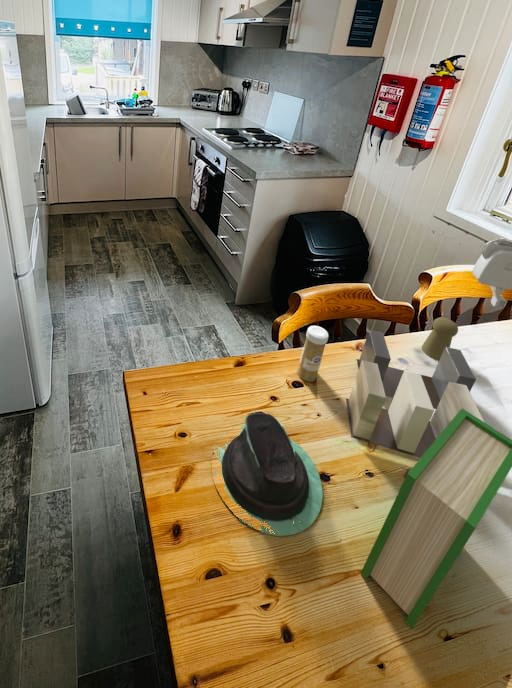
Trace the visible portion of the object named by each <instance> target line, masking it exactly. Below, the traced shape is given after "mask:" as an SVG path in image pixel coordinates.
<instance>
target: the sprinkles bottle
mask: <svg viewBox="0 0 512 688" xmlns="http://www.w3.org/2000/svg"><path fill="white" fill-rule="evenodd" d="M305 336H306V338H305V340H304V345H303V348H302V351H301V354H300V359H299V365H298V368H297V370H296V372H297V375H298V377H299V378H300V379H302V380H303V381H305V382H309V383H310V382H311V383H312V382H315V381H316V380H317V376H318V373H319V369H320V366H321V364H322V359H323V355H324V351H325V348H326V344H327V343H328V340H329V332H328V331H327V330H326V329H325V328H323V327H321V326H319V325H310V326H309V327H308V328H307V330H306V334H305Z"/></svg>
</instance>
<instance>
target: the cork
mask: <svg viewBox="0 0 512 688" xmlns="http://www.w3.org/2000/svg"><path fill="white" fill-rule="evenodd" d="M458 332H459V327H458V325H457V323H455V322H454V321H453V320H451V319H450V318H447V317H441V316H440V317H437V318H435V319H434V320H433V322H432V330H431V331H430V333H429V335H428V336H427V337H426V339H425V341H424V342H423V344H422V345H421V351H422V352H423V353H424V354H425V355H426V356H427V357H429V358H431V359H434V360H436V361H439V360H440V358H441V356H442V354H443V351H444V349H445V347H449V348H451V344H452V340H453V337H456V335H457V334H458Z"/></svg>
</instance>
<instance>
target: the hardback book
mask: <svg viewBox="0 0 512 688" xmlns="http://www.w3.org/2000/svg"><path fill="white" fill-rule="evenodd" d="M510 470H512V439H511V438H510V437H508V436H507V435H505V434H503V433H502V432H501V431H499V430H497V429H495V428H494V427H492V426H491V425H490V424H487V423H486V422H485V421H484V422H483V421H481V420H480V419H478V418H477V417H475V416H473V415H472V414H470V413H469V412H467V411H466V410H464V409H461V410H460V411H459V412H458V414H457V415H456V416H455V417H454V418H453V420H452V421H451V422H450V423H449V424H448V426H447V427H446V428H445V429H444V430H443V432H442V433H441V434H440V435H439V436H438V438H437V439H436V440H435V441H434V442H433V444H432V445H431V446H430V447H429V448H428V450H427V451H426V452H425V453H424V454H423V456H422V457H421V458H420V457H419V459H418V460H417V461H416V463H415V464H413V466H412V467H411V468H410V470H408V472H407V474H406V475H405V478H404V480H403V482H402V484H401V486H400V489H399V491H398V493H397V494H396V497H395V499H394V501H393V503H392V506H391V508H390V510H389V511H388V514H387V516H386V518H385V519H384V523H383V525H382V526H381V529H380V531H379V533H378V535H377V537H376V539H375V542H374V544H373V546H372V548H371V550H370V552H369V554H368V555H367V556H368V557H367V559H366V561H365V563H364V565H363V567H362V569H361V571H360V573H361V574H362V575H363V576H364V577H365V578H366V579H367V580H368V578H369V577H371V578H372V579H373V580H374V581H375V582H376V583H377V584H378V585H379V587H381V589H383V590H384V592H386V593H387V595H388V596H389V597H390V598H391V599H392V600H393V601H394V602H395V603H396V604H397V605H398V606H399V607H400V609H401V610H402V611H403V612H404V613H405V614H406V615H407V617H406V618H405V620H404V622H405V621H406V622H407V623H408V624H409V626H410V627H411V628H412V629H413V627H414V626H415V624H416V623H417V621H418V620H419V618H420V616H421V615H422V614H423V612H424V611H425V609H426V607H427V606H428V604H429V602H430V601H431V600H432V598H433V596H434V595H435V593H436V591H437V589H438V588H439V587H440V585H441V583H442V582H443V581H444V579H445V577H446V576H447V574H448V572H449V571H450V569H451V568H452V566H453V565H454V563H455V561H456V560H457V558H458V557H459V555H460V553H461V552H462V551H463V549H464V547H465V546H466V544H467V542H468V541H469V540H470V538H471V536H472V535H473V533H474V532H475V531H476V528H477V527H478V525H479V523H480V521H481V520H482V519H483V517H484V515H485V513H486V512H487V509H489V506H490V504H491V503H492V501H493V500H494V499H495V496H496V495H497V493H498V492H499V490H500V488H501V487H502V484H503V483H504V481H505V480H506V478H507V476H508V475H509V473H510ZM361 574H360V575H361ZM362 575H361V576H362ZM363 576H362V577H363ZM364 577H363V578H364ZM365 578H364V579H365ZM366 579H365V580H366ZM406 622H405V623H406ZM407 623H406V624H407ZM408 624H407V625H408ZM409 626H408V627H409ZM410 627H409V628H410ZM411 628H410V629H411Z"/></svg>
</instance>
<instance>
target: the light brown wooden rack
mask: <svg viewBox="0 0 512 688" xmlns="http://www.w3.org/2000/svg"><path fill="white" fill-rule="evenodd" d="M386 400H387V396H386V395H385V392H384V388H383V384H382V380H381V376H380V372H379V368H378V364H376V363H372V362H368V361H364V360H362V361H361V364H360V367H359V370H358V371H357V374H356V376H355V379H354V383H353V386H352V389H351V392H350V395H349V397H348V398H347V397H345V404H346V411H347V418H348V425H349V431H350V437H351V438H353V439H356V440H360V441H363V442H367V443H368V444H373V445H377V446H378V447H379V446H380V447H383V448H385V449H390V450H393V451H397V452H399V453H403V454H406V455H410V456H413V457H417V458H419V459H420V458H421V457H422V456H423V454H424V453H425V452H426V451H427V450H428V448H429V447H430V446H431V445H432V444H433V442H434V441H435V440H436V439H437V438H438V436H439V435H440V434H441V433H442V432H443V430H444V429H445V428H446V427H447V426H448V424H449V423H450V422H451V421H452V420H453V418H454V417H455V416H456V415H457V414H458V412H459V411H460V410H461V409H464V410H466V411H467V412H469V413H470V414H472V415H473V416H475V417H477V418H478V419H480V420H481V421H483V422H485V420H484V418H483V416H482V414H481V412H480V409H479V408H478V406H477V404H476V401H475V399H474V398H473V396H472V394H471V391H470V392H469V390H468V388H467V386H466V385H462V384H458V383H453V382H449V383H448V385H447V387H446V389H445V392H444V394H443V396H442V398H441V400H440V402H439V404H438V407H437V409H435V410H434V412H433V414H432V416H431V418H430V420H429V423H428V425H427V427H426V429H425V431H424V433H423V436H422V438H421V440H420V442H419V444H418V446H417V448H416V451H415V453H411V452H408V451H404V450H401V449H397V445H396V441H395V437H394V433H393V429H392V425H391V422H390V418H389V414H388V410H389V409H387V408H384V405H385V402H386Z"/></svg>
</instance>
